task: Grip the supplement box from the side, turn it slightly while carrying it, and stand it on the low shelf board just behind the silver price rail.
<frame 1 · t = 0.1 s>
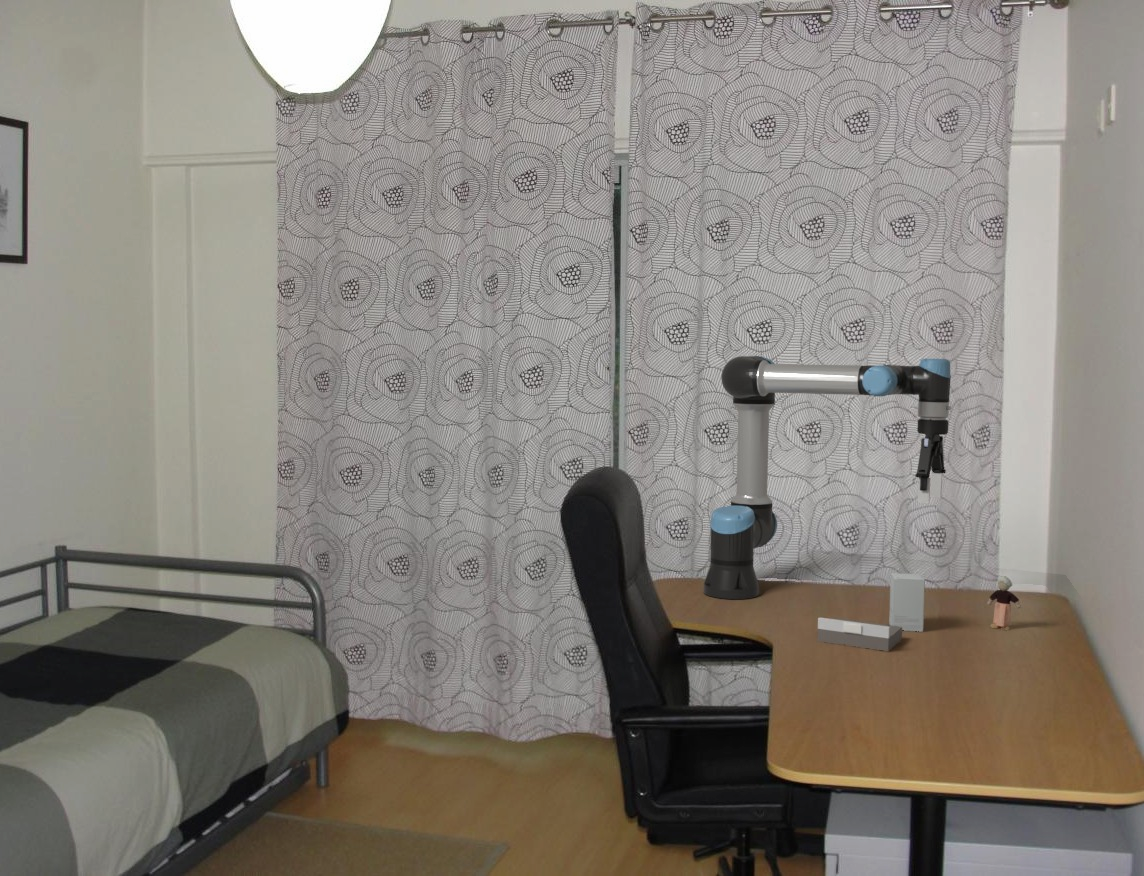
hand: (929, 500, 281), 28 cm above the table, tool pointing down, fingers open, 13 cm apart
supplement box: (905, 628, 261), on the table
shelf board: (859, 640, 249), on the table
grandmother figurine: (1002, 629, 261), on the table
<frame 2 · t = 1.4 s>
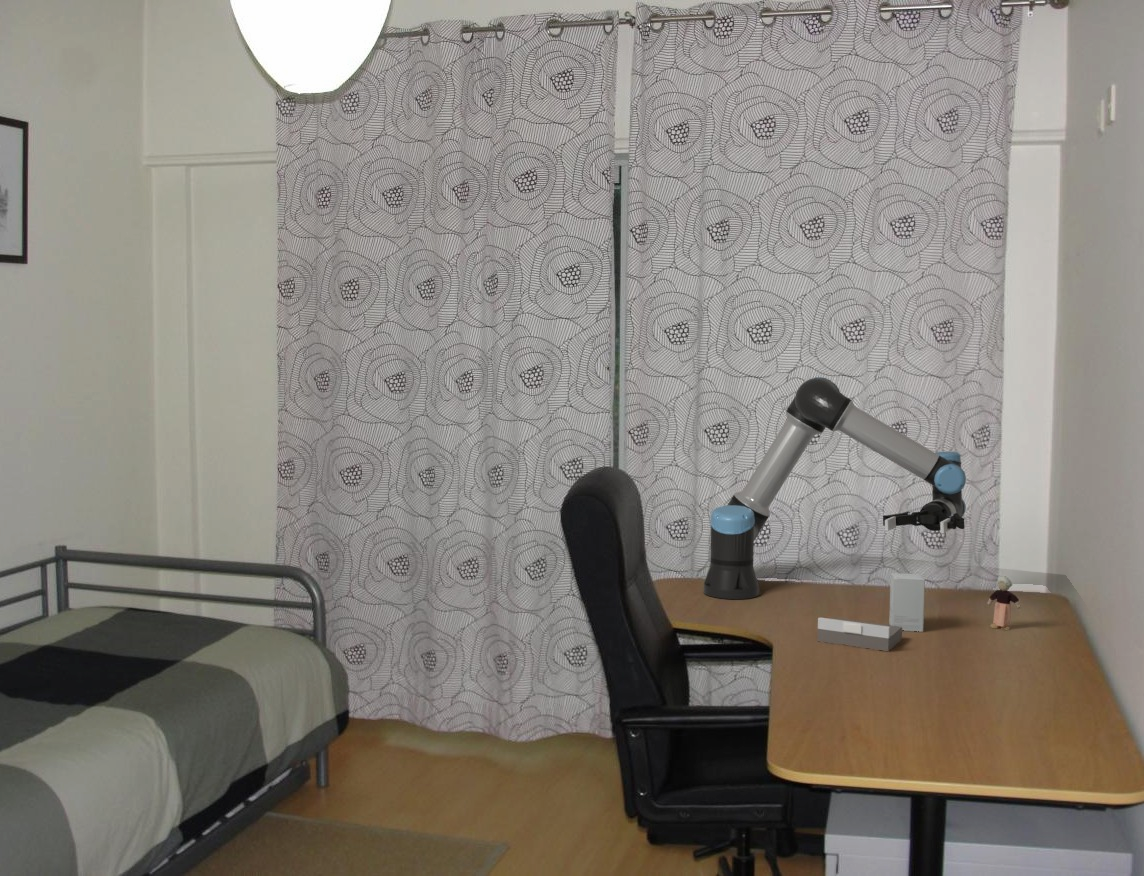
hand: (913, 526, 268), 23 cm above the table, tool horizontal, fingers open, 13 cm apart
nothing on the table moved.
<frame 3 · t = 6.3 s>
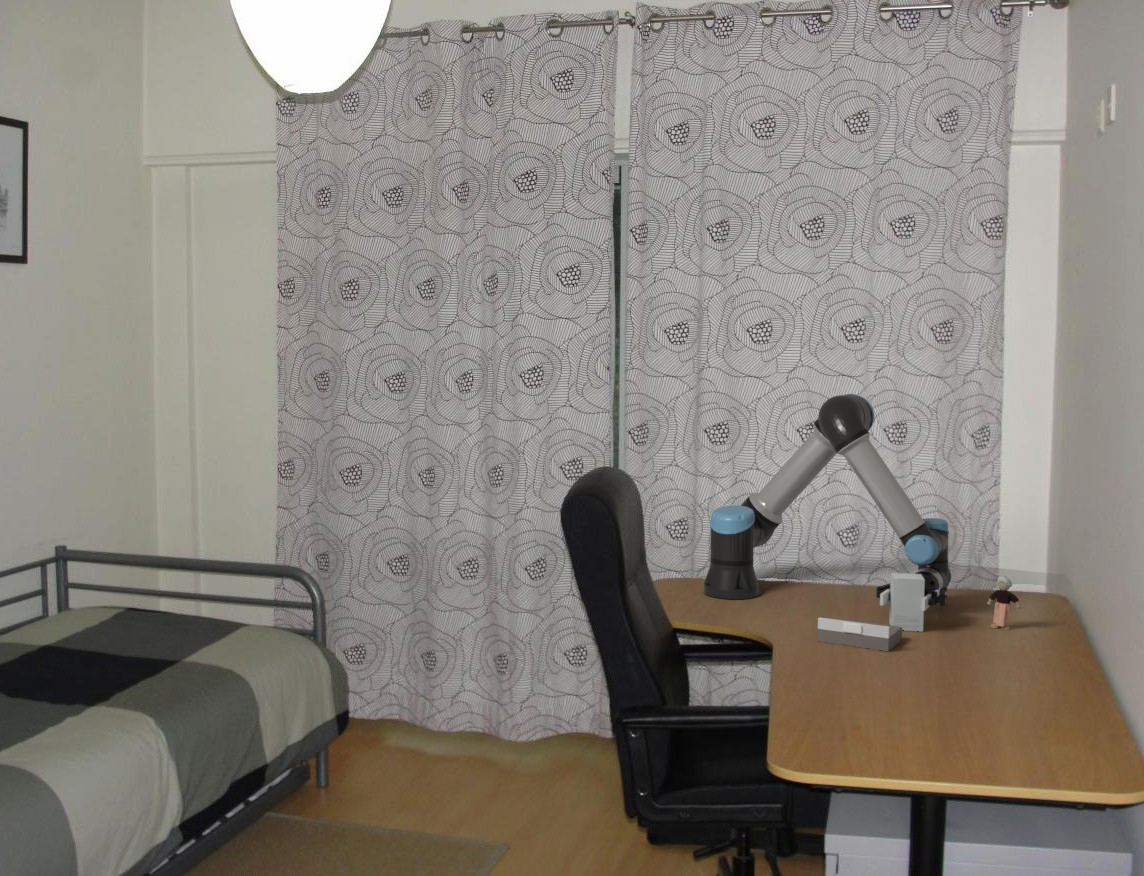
hand: (902, 602, 257), 7 cm above the table, tool horizontal, fingers closed on supplement box, 9 cm apart
supplement box: (906, 628, 261), on the table, touching gripper
everything else where it was.
when the fingers open (11 cm above the table, at t = 11.9 s): supplement box drops 1 cm, resting on shelf board.
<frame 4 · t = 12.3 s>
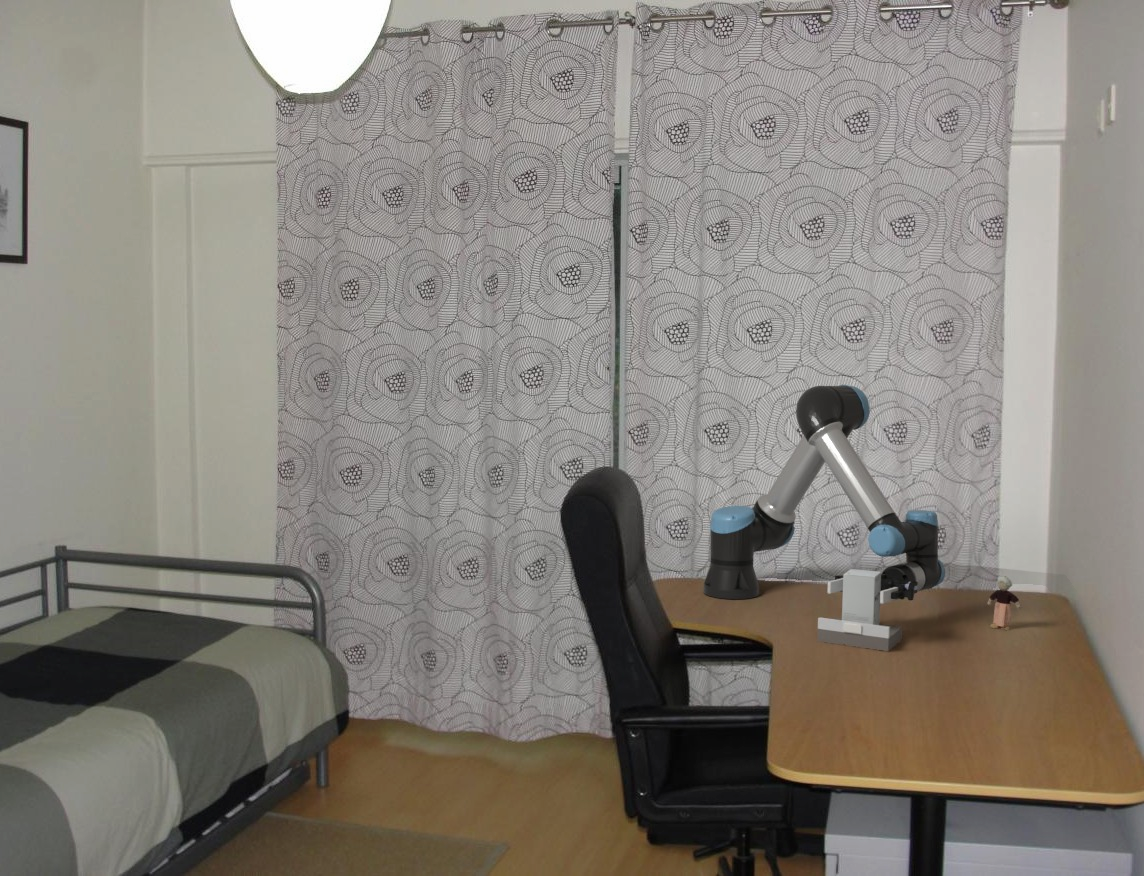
hand: (854, 592, 247), 12 cm above the table, tool horizontal, fingers open, 13 cm apart
supplement box: (860, 627, 250), point 3 cm above the table, touching shelf board
everything else where it was.
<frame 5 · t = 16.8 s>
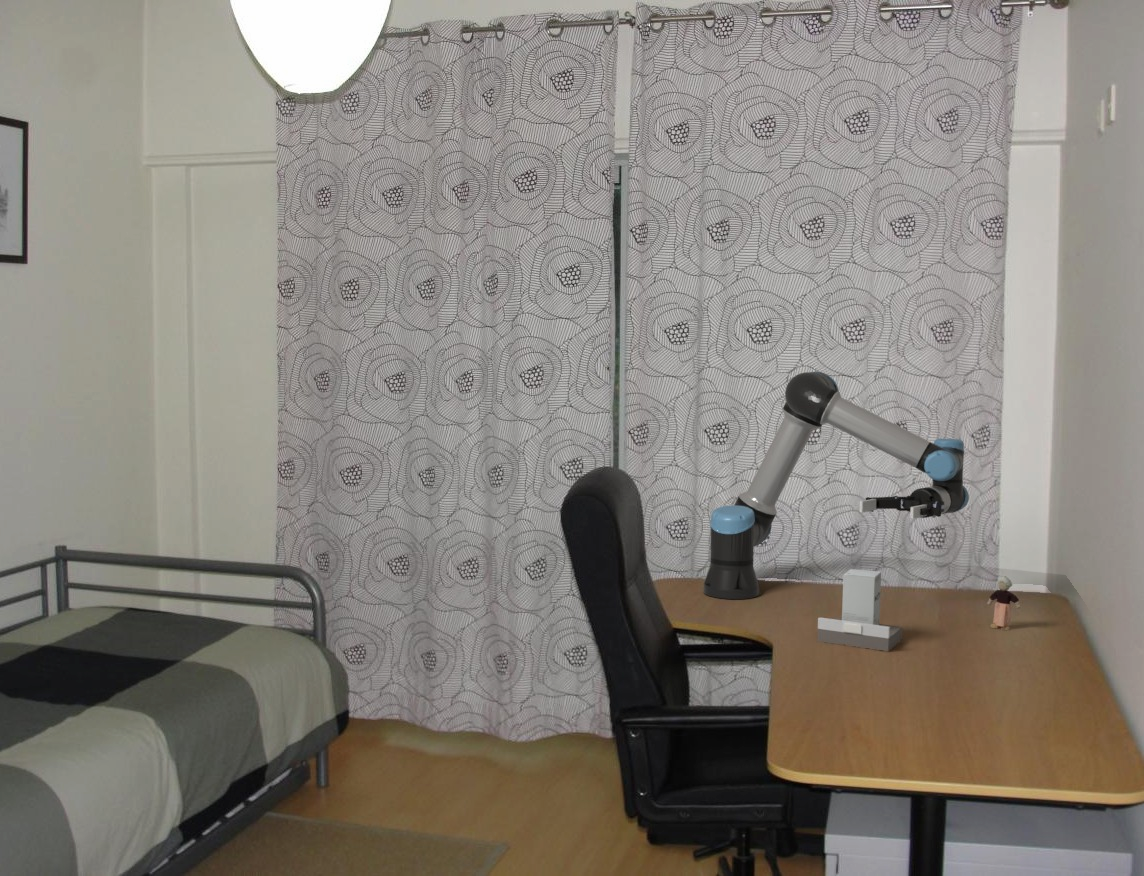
hand: (885, 509, 263), 28 cm above the table, tool horizontal, fingers open, 13 cm apart
nothing on the table moved.
at the end: supplement box inside the target area on the shelf board (0.6 cm from its centre), point 2.8 cm above the shelf board's base; supplement box tilted 0°; the gripper is holding nothing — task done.
